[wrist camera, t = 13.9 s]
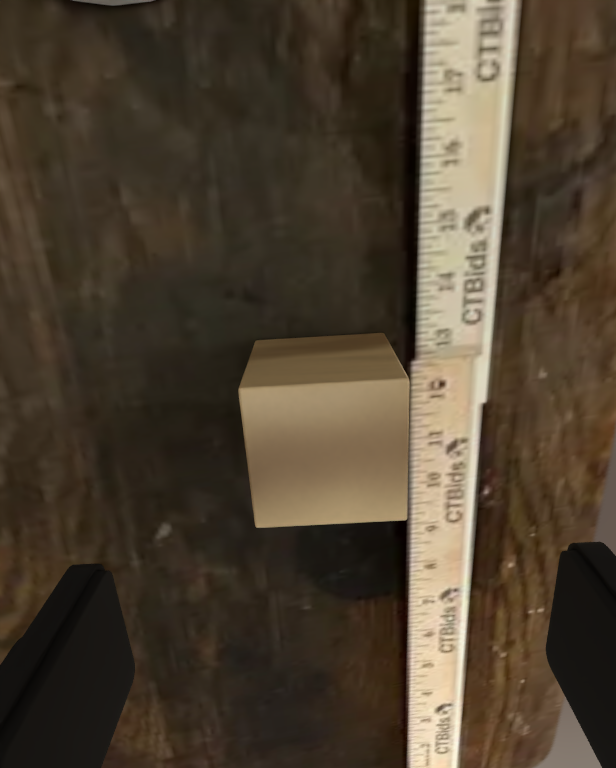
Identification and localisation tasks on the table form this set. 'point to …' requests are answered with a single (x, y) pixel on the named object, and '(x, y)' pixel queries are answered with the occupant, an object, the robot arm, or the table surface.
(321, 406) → the block
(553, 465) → the table surface
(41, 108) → the table surface
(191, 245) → the table surface
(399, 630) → the table surface
